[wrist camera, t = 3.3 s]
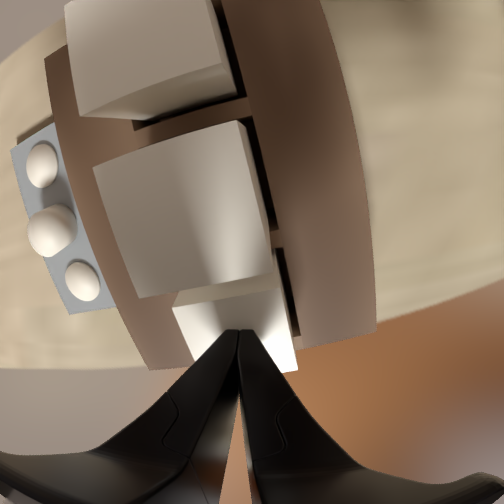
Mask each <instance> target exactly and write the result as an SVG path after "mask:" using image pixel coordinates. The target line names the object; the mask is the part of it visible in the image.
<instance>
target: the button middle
mask: <svg viewBox="0 0 504 504" xmlns="http://www.w3.org/2000/svg"><path fill="white" fill-rule="evenodd" d="M92 168H93V171H94V175H95V178H96V182H97V185H98V188H99V191H100V195H101V198H102V201H103V204H104V207H105V210H106V213H107V216H108V219H109V222H110V225H111V228H112V231H113V234H114V236H115V239H116V242H117V245H118V247H119V250H120V253H121V255H122V258H123V260H124V263H125V266H126V268H127V271H128V273H129V276H130V278H131V280H132V283H133V285H134V288H135V290H136V292H137V295H138V297H139V299H140V298H145V297H151V296H156V295H161V294H167V293H172V292H177V291H182V290H188V289H193V288H198V287H203V286H208V285H213V284H218V283H223V282H228V281H233V280H238V279H243V278H248V277H253V276H258V275H263V274H267V273H272V272H273V262H272V253H271V243H270V234H269V225H268V216H267V210H266V206H265V202H264V197H263V193H262V189H261V185H260V181H259V176H258V172H257V168H256V164H255V160H254V156H253V152H252V148H251V144H250V140H249V136H248V132H247V128H246V127H245V126H244V125H242V124H241V123H240V122H239V121H237V120H234V121H230V122H226V123H222V124H218V125H215V126H211V127H207V128H204V129H200V130H197V131H193V132H190V133H187V134H183V135H180V136H177V137H174V138H171V139H168V140H164V141H161V142H158V143H155V144H153V145H150V146H147V147H144V148H141V149H138V150H136V151H133V152H130V153H127V154H125V155H122V156H120V157H117V158H114V159H112V160H109V161H107V162H104V163H102V164H99V165H97V166H95V167H92Z"/></svg>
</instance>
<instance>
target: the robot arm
mask: <svg viewBox="0 0 504 504" xmlns="http://www.w3.org/2000/svg"><path fill="white" fill-rule="evenodd" d="M239 397H240V409H241V417H242V425H243V426H242V427H243V435H244V444H245V451H246V460H247V468H248V476H249V484H250V492H251V499H252V504H492V503H494V502H495V501H496V500H498V499H499V498H500V497H501V496H502V495H503V494H504V480H502V479H501V478H499V477H497V476H494V475H490V474H487V473H483V472H478V473H475V474H472V475H469V476H467V477H464V478H462V479H460V480H457V481H454V482H451V483H445V484H427V483H422V482H417V481H412V480H408V479H404V478H400V477H396V476H393V475H389V474H385V473H382V472H378V471H374V470H371V469H369V468H366V467H364V466H363V465H361V464H359V463H358V462H357V461H355V460H354V459H353V458H352V457H351V456H350V455H348V453H347V452H346V451H344V449H343V448H341V446H339V444H338V443H336V441H335V440H333V438H331V436H330V435H329V434H328V433H327V432H326V431H325V430H324V429H323V428H322V427H321V426H320V425H319V424H318V423H317V422H316V420H315V419H314V418H313V417H312V416H311V414H310V413H309V412H308V411H307V409H306V408H305V406H304V405H303V404H302V402H301V401H300V399H299V398H298V397H297V396H296V394H295V392H294V391H293V389H292V388H291V386H290V385H289V383H288V382H287V380H286V379H285V377H284V376H283V374H282V373H281V371H280V370H279V368H278V367H277V365H276V364H275V362H274V361H273V359H272V357H271V356H270V354H269V353H268V351H267V350H266V348H265V347H264V345H263V344H262V342H261V341H260V339H259V337H258V336H257V334H256V333H255V331H254V330H253V329H241V330H240V331H239V330H238V329H226V330H225V331H224V332H223V333H222V334H221V335H220V336H219V337H218V338H217V339H216V340H215V341H214V342H213V343H212V345H211V346H210V347H209V348H208V349H207V350H206V351H205V352H204V353H203V354H202V355H201V356H200V357H199V358H198V359H197V360H196V361H195V362H194V363H193V364H192V365H191V367H190V368H189V369H188V370H187V371H186V372H185V373H184V374H183V375H182V376H181V377H180V378H179V379H178V380H177V381H176V382H175V383H174V384H173V385H172V386H171V387H170V388H169V389H168V390H167V392H165V393H164V394H163V395H162V396H161V397H160V398H159V399H158V400H157V401H156V402H155V403H154V404H153V405H152V406H151V407H150V408H149V409H148V410H146V411H145V412H144V413H143V414H142V415H140V416H139V417H138V418H136V420H134V421H133V422H131V423H130V424H129V425H127V426H126V427H125V428H123V429H122V430H121V431H119V432H118V433H117V434H115V435H114V436H113V437H111V438H110V439H109V440H107V441H106V442H104V443H103V444H101V445H100V446H98V447H96V448H94V449H92V450H89V451H86V452H80V453H70V454H56V455H55V454H54V455H13V454H8V453H4V452H2V451H0V494H1V495H3V496H4V497H5V499H4V501H3V504H219V499H220V494H221V489H222V484H223V479H224V474H225V469H226V464H227V459H228V453H229V448H230V443H231V438H232V433H233V427H234V422H235V417H236V411H237V406H238V400H239Z"/></svg>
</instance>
